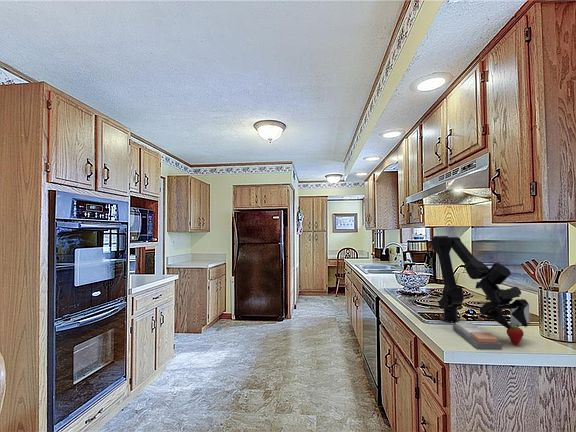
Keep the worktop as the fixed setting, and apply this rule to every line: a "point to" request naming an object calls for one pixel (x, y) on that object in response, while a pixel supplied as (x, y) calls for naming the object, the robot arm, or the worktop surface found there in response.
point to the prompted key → (483, 338)
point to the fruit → (515, 334)
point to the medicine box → (526, 313)
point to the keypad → (468, 328)
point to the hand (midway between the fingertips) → (518, 327)
